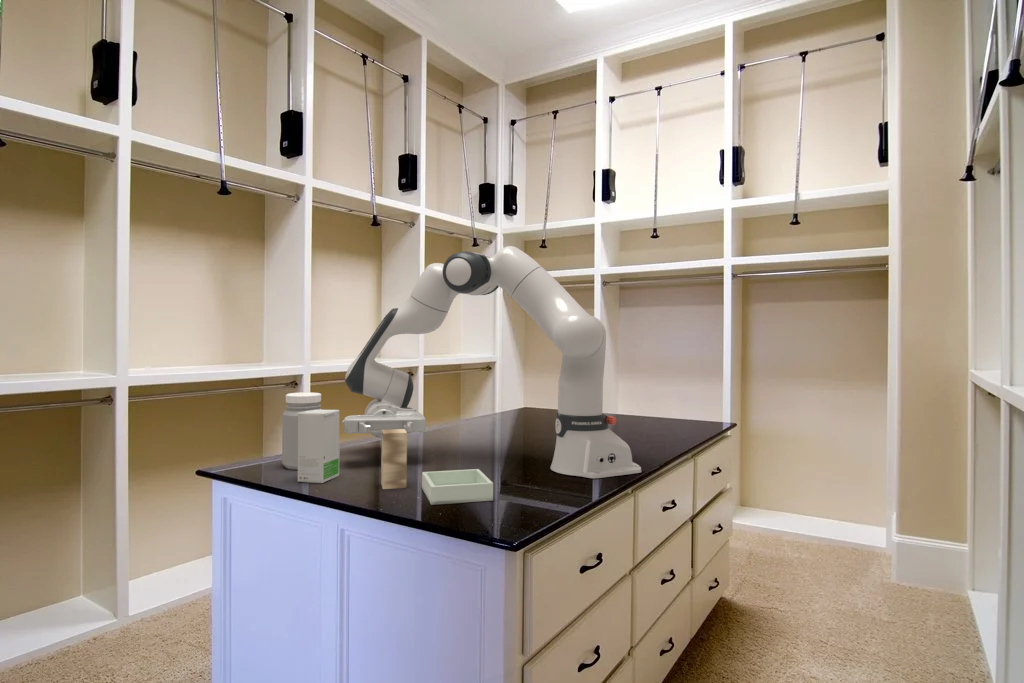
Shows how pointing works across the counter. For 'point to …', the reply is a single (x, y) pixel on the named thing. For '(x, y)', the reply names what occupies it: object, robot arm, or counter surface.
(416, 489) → the counter surface
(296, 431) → the jar
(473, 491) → the dish
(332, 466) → the skincare box
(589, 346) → the robot arm
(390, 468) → the oak block
